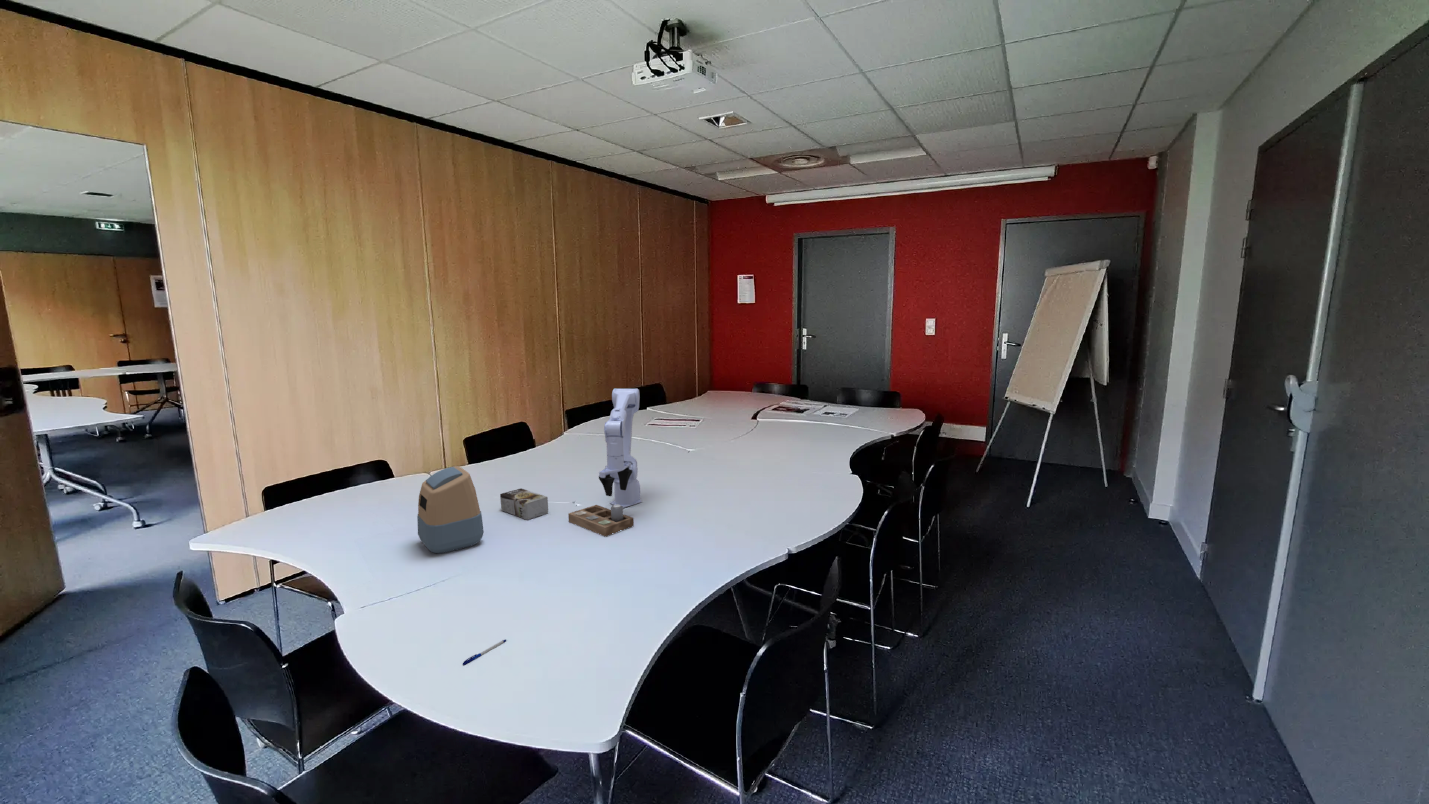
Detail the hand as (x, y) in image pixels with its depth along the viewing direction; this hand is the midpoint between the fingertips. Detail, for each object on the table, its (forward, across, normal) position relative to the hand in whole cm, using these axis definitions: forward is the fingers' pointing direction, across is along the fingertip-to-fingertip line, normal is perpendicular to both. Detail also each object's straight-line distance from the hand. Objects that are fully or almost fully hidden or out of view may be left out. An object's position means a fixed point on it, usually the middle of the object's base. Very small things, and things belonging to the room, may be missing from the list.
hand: (616, 492), depth 199 cm
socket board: (+9, +7, -1) cm, 12 cm away
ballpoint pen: (+10, +76, +28) cm, 82 cm away
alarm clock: (+10, +44, -30) cm, 54 cm away
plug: (+9, +6, +6) cm, 12 cm away
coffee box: (+6, +13, -24) cm, 29 cm away
